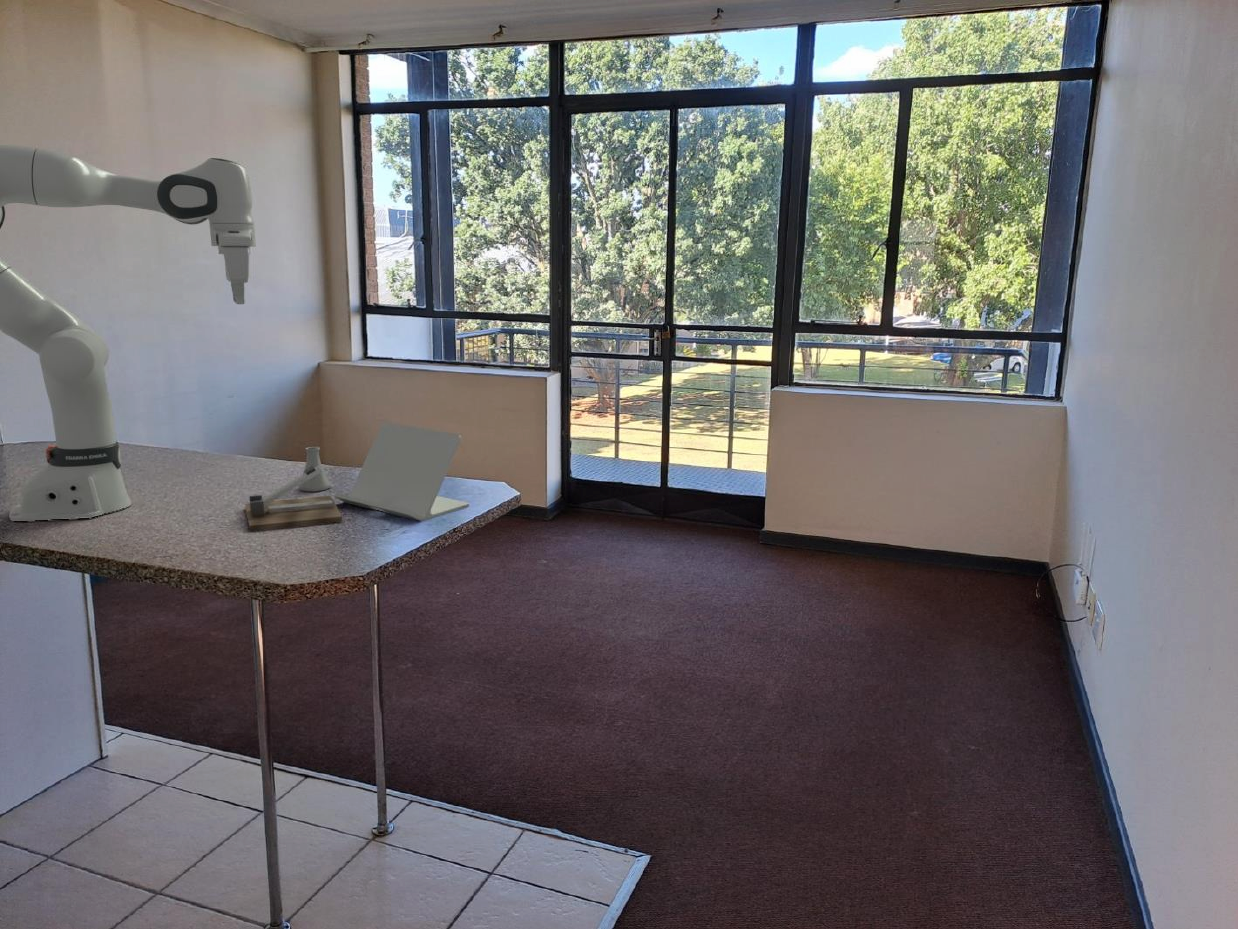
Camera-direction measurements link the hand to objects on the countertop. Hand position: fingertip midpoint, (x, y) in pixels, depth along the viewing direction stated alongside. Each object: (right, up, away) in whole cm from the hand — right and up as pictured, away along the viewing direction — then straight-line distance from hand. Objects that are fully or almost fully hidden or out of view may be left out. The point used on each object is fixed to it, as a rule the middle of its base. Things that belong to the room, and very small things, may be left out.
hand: (239, 303), depth 192 cm
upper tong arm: (+13, -41, -5) cm, 44 cm away
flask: (+10, -41, +19) cm, 47 cm away
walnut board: (+13, -46, -4) cm, 48 cm away
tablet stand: (+35, -45, +5) cm, 57 cm away
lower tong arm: (+13, -45, -4) cm, 47 cm away
